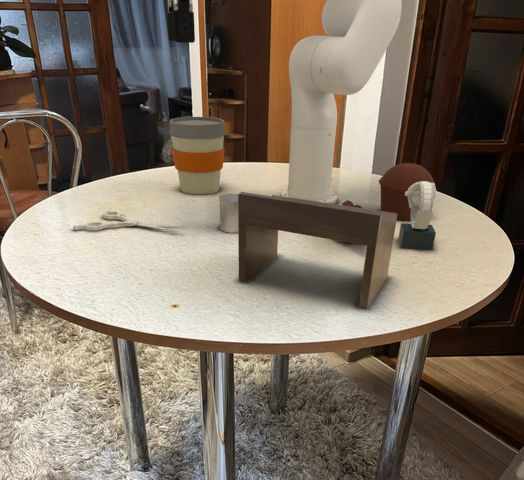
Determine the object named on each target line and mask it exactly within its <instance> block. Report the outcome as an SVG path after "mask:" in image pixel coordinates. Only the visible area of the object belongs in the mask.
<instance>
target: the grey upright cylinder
mask: <svg viewBox="0 0 524 480" xmlns="http://www.w3.org/2000/svg"><path fill="white" fill-rule="evenodd" d="M238 194H239V193H225V194H221V195H220V196H219V200H218V201H219V229H220V230H221V232H224V233H228V234H229V233H230V234H236V233H238V224H239V223H238Z"/></svg>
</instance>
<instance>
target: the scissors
mask: <svg viewBox="0 0 524 480" xmlns="http://www.w3.org/2000/svg"><path fill="white" fill-rule="evenodd" d="M102 217H103V218H104V219H106V220H119V222H103V221H90V222H86V223H84V224H76V225H75V224H74V225H73V226H72V228H73V230H74V231H75V230H76V231H77V230H86V231H87V230H88V231H100V230H105V229H108V228H119V227H134V226H137V227H145V228H149V229H150V228H151V229H156V230H163V231H170V232H176V230H175V229H171V228H166V227H161V226H159V225H162V226H164V225H165V226H166V225H168V226H173V225H177V226H178V225H181V223H172V222H171V223H169V222H154V221H153V222H152V221H151V222H150V221H140V220H137V219H132V218H127V217H126V216H125V215H121V213H120V212H119V211H116V210H115V211H114V210H109V211H108V210H107V211H104V212H103V213H102ZM157 225H158V226H157ZM177 232H178V233H179V232H180V231H179V230H177Z"/></svg>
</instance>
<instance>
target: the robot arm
mask: <svg viewBox="0 0 524 480" xmlns="http://www.w3.org/2000/svg"><path fill="white" fill-rule="evenodd" d="M193 4H194V3H193V0H167V13H166V16H167V32H168V33H167V34H168V40H169V41H171V42H174V43H186V44H187V43H188V44H189V43H190V44H193V43H195V41H196V33H195V30H196V29H195V12H194V5H193ZM402 8H403V3H402V0H326V2H325V4H324V6H323V9H322V12H321V26H322V28H323V31H324V32H325V34H327V35H310V36H306V37H304V38H302V39H301V40H299V41H298V42H297V43H296V44H295V45H294V47H293V48H292V50H291V52H290V56H289V59H288V76H289V84H290V94H291V95H290V97H291V117H290V119H291V120H290V139H289V157H288V159H289V161H288V181H287V182H288V183H287V189H286V190H284V191H282V192H280V196H284V197H291V198H297V199H304V200H311V201H318V202H324V203H331V204H337V201H338V196H337V194H336V193H334V192H333V191H331V189H332V181H333V170H334V169H333V168H334V159H335V158H334V156H335V146H336V136H337V125H338V107H337V101H336V98H335V95H340V96H351V95H355V94H357V93H359V92H360V91H361V90H363V88H364V87H365V86H366V85H367V84H368V82H369V80H370V79H371V77H372V76H373V74H374V72H375V71H376V69H377V67H378V65H379V64H380V62H381V60H382V58H383V56H384V55H385V53H386V51H387V49H388V47H389V46H390V44H391V42H392V40H393V39H394V36H395V34H396V33H397V30H398V27H399V25H400V22H401V17H402V12H403V11H402V10H403V9H402Z"/></svg>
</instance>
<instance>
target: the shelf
mask: <svg viewBox="0 0 524 480" xmlns="http://www.w3.org/2000/svg"><path fill="white" fill-rule="evenodd" d="M237 194H238V223H239V224H238V238H237V239H238V242H237V243H238V244H237V245H238V246H237V247H238V248H237V249H238V282H241V283H247V282H248V281H249V280H251V279H252V278H253V277H254V276H255V275H257V274H258V273H259V272H260V271H262V270H263V269H264V268H265V267H266V266H267V265H269V264H270V263H271V262H272V261H273V260H275V259H276V258H277V257H278V248H279V247H278V245H279V244H278V243H279V232H285V233H291V234H298V235H302V236H309V237H315V238H320V239H326V240H332V241H338V242H344V243H345V242H348V243H347V244H353V245H354V244H355V245H360V246H366V250H365V255H364V264H363V272H362V279H361V287H360V294H359V301H358V308H360V309H365V310H367V309H368V308H369V307H370V305H371V303H372V302H373V300H374V298H375V297H376V296H377V294H378V292H379V291H380V289H381V287H382V286H383V284H384V283H385V281H386V280H387V278H388V273H389V268H390V262H391V255H392V250H393V243H394V238H395V231H396V227H397V226H396V225H397V213H392V212H385V211H381V210H378V209H371V208H370V209H369V208H364V207H362V208H358V207H351V206H344V205H342V204H337V203H335V204H331V203H324V202H318V201H311V200H304V199H297V198H291V197H284V196H281V195H277V194H271V195H267V194H260V193H254V192H253V193H252V192H245V191H241V192H239V193H237Z"/></svg>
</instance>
